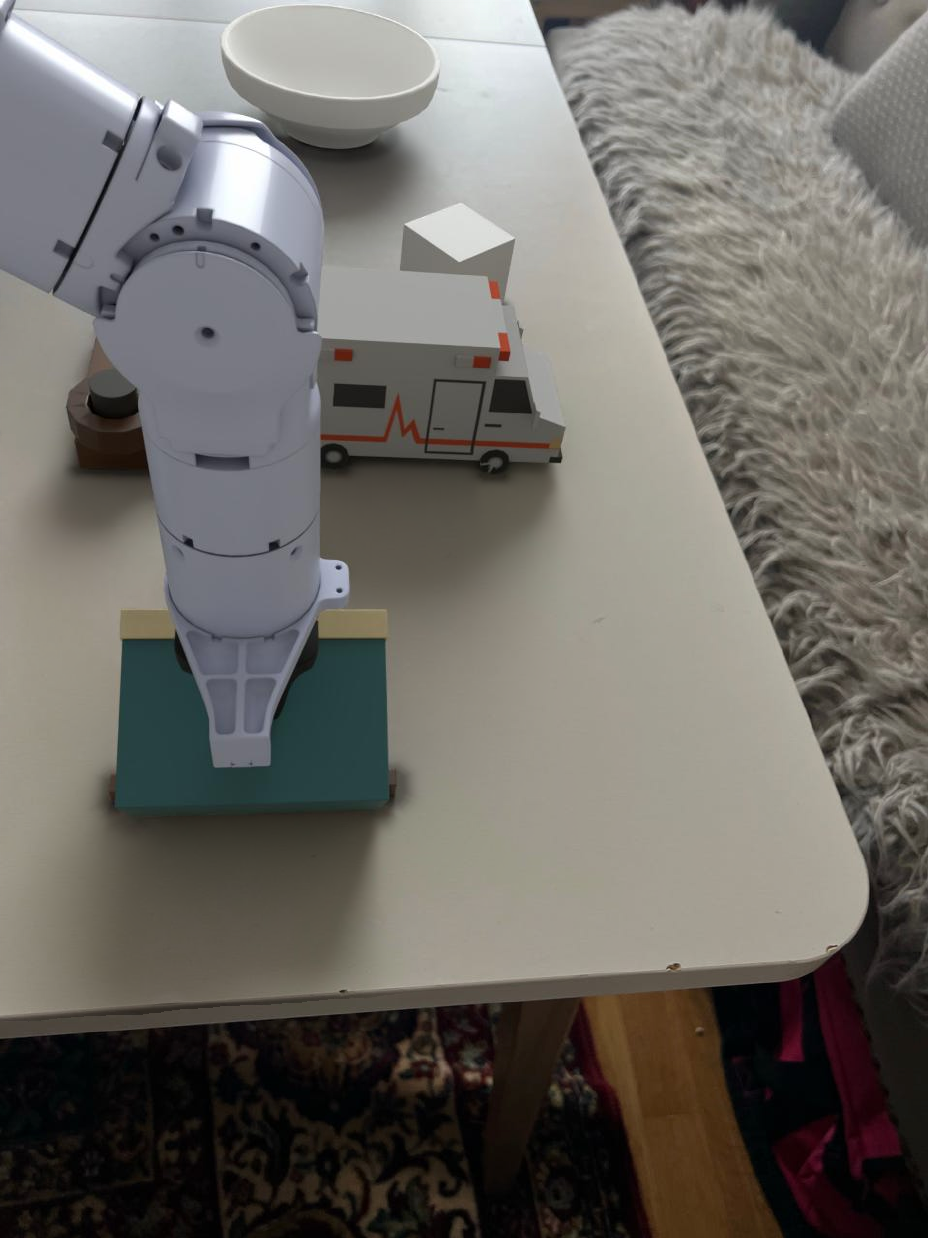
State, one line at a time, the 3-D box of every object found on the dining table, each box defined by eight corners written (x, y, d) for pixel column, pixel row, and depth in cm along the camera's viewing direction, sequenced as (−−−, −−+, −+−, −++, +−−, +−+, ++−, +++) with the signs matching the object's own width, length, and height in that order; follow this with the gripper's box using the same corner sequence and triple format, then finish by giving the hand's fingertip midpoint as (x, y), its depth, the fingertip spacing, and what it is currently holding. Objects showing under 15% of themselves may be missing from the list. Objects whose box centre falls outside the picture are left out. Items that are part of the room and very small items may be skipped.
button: (90, 419, 61) (85, 396, 60) (96, 390, 63) (91, 367, 61) (138, 421, 62) (134, 398, 60) (142, 391, 63) (139, 369, 62)
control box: (71, 479, 63) (60, 429, 60) (101, 333, 72) (92, 283, 69) (241, 483, 64) (239, 435, 61) (249, 340, 74) (247, 292, 71)
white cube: (502, 306, 81) (515, 238, 76) (449, 332, 78) (459, 262, 73) (451, 270, 83) (460, 201, 78) (397, 293, 80) (403, 223, 75)
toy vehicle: (560, 484, 68) (594, 363, 61) (302, 475, 66) (303, 347, 58) (541, 394, 74) (569, 273, 67) (303, 382, 72) (304, 255, 64)
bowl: (467, 169, 94) (477, 90, 89) (265, 192, 87) (263, 108, 81) (384, 74, 104) (389, -2, 99) (197, 88, 97) (191, 7, 91)
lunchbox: (111, 808, 44) (120, 608, 46) (129, 817, 49) (137, 637, 51) (392, 800, 46) (387, 609, 48) (382, 809, 51) (378, 636, 53)
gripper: (360, 661, 32) (349, 853, 42) (346, 371, 41) (339, 589, 51) (127, 665, 31) (175, 861, 41) (165, 366, 40) (197, 590, 50)
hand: (256, 711), depth 46 cm, fingers closed, pressing on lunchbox
